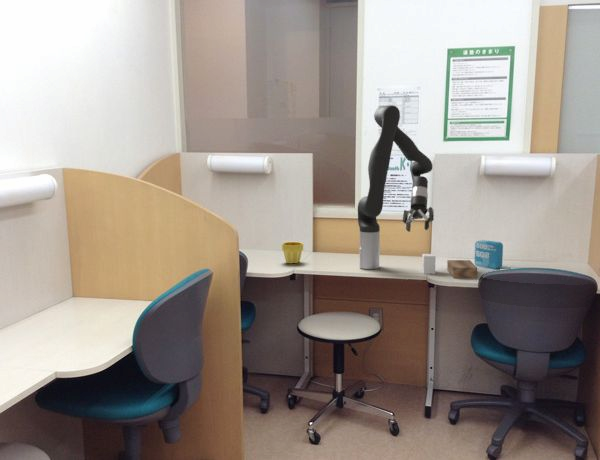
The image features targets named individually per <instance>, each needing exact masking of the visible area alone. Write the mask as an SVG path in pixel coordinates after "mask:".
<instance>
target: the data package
mask: <svg viewBox="0 0 600 460" xmlns="http://www.w3.org/2000/svg"><path fill="white" fill-rule="evenodd" d="M503 257H504V245H503V243H502V242H500V241H492V240H486V239H481V240H476V241H475V243H474V263H473V264H474V265H475V266H476V267H479V268H480V267H481V268H485V269H486V268H487V269H492V270H498V269H501V268H502V266H503V259H504V258H503Z"/></svg>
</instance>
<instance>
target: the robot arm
mask: <svg viewBox="0 0 600 460" xmlns="http://www.w3.org/2000/svg"><path fill="white" fill-rule="evenodd" d="M373 119H374V121H375V123H377V125H378V126H379V127H380V128H381V131H380V134H379V138H378V139H377V141H376V142H375V145H374V147H373V148H372V149H371V152H370V155H369V160H368V167H367V172H368V180H369V188H368V192H367V196H363V197H361V198H360V199H359V202H358V204H357V222H358V227H359V269H365V270H377V269H379V268H380V264H381V263H380V249H381V248H380V247H381V246H380V239H381V238H380V236H381V235H380V229H381V228H380V224H379V223H378V220H377V217H378V216H380V214H381V213H382V211H383V206H384V195H385V194H384V193H385V188H386V187H385V185H386V183H387V182H386V181H387V176H388V171H389V167H390V162H391V155H392V151H393V146H394V143H395V144H396V146H397V147H398V149H399V150H400V151H401V153H402V155H403V156H404V157H405V159H406V160H407V161H408V162H411V164H410V166H409V171H410V172H409V173H410V175H411V179H412V186H411V187H412V189H411V195H410V196H411V197H410V209H409V210H406V209H404V210H403V215H402V223H404V224H406V225H405V229H406V231H407V232H408V233H410V232H411V227H412V225H411V224H412V223H413V222H414V221H415V220H420V219H424V230H425V231H428V230H429V228H430V222H433V221H434V216H435V215H434V214H435V213H434V211H435V210H434V208H433V207H431V206H429V207H428V197H429V195H428V194H429V193H428V184H429V181H428V178H427V177H425V176H422V175H425V174H429V173H431V172H432V170H433V162H432V161H431V159H430V158H429V157H428V156H427V155H426V154H424V153H423V152H422V151H421V150H420V149H419V148H418V147H417V145H416V144H415V142H414V141H413V140H412V138H411V137H410V136H409V135H408V134H406V133H405V132H404V131H403V130H402V129H400V127H399V123H400V119H401V113H400V109H399V108H398V107H397V106H396V105H382V106H381V105H380V106H378V107H377V108H375V110H374V113H373ZM427 213H428V216H427V215H426V214H427Z"/></svg>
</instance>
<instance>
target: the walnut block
mask: <svg viewBox="0 0 600 460" xmlns="http://www.w3.org/2000/svg"><path fill="white" fill-rule="evenodd" d="M446 263H447V266H446V270H447V272H448V273H449V275H450V274H451V275H450V276H451V277H452V279H478V266H476V265H475V263H473V262H472V261H471V260H470V259H448V260H447V261H446Z"/></svg>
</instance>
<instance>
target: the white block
mask: <svg viewBox="0 0 600 460" xmlns="http://www.w3.org/2000/svg"><path fill="white" fill-rule="evenodd" d="M421 256H422V257H421V258H422V259H421V265H422V266H421V271H422V274H424V275H431V274H430V273H433V274H432V275H436V255H435V254H434V253H422V255H421Z"/></svg>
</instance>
